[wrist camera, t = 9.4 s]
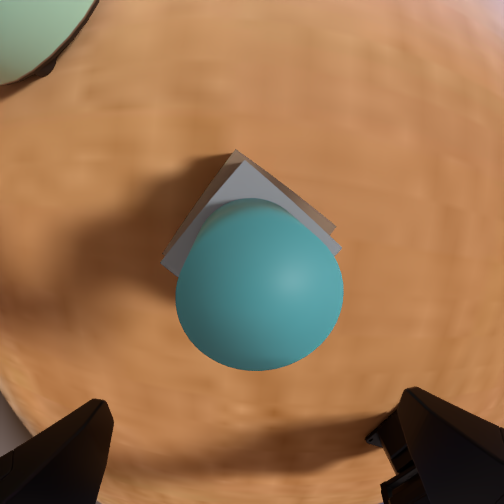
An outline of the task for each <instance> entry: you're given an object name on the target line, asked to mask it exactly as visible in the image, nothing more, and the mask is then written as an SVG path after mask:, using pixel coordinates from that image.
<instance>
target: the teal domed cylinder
mask: <svg viewBox="0 0 504 504" xmlns="http://www.w3.org/2000/svg"><path fill="white" fill-rule="evenodd" d="M342 303H343V280H342V275H341V272H340V269H339V266H338V263H337V261H336V260H335V258H334V256H333V254H332V253H331V251H330V250H329V249H328V247H327V246H326V245H325V244H324V243H323V242H322V241H321V240H320V239H319V238H318V237H317V236H316V235H314V234H313V233H312V232H311V231H310V230H309V229H308V228H307V227H305V226H304V225H303V224H302V223H301V222H300V221H299V220H297V219H296V218H295V217H294V216H293V215H292V214H290V213H289V212H288V211H287V210H285V209H284V208H283V207H281V206H279V205H278V204H276V203H273V202H271V201H268V200H264V199H258V198H244V199H238V200H235V201H232V202H229V203H227V204H225V205H223V206H221V207H220V208H218V209H217V210H216V211H214V212H213V213H212V214H211V215H210V216H209V217H208V218H207V219H206V221H205V222H204V224H203V225H202V227H201V229H200V231H199V233H198V235H197V237H196V239H195V241H194V244H193V246H192V248H191V250H190V252H189V254H188V256H187V259H186V261H185V263H184V265H183V267H182V269H181V272H180V275H179V278H178V281H177V287H176V309H177V314H178V317H179V321H180V323H181V326H182V328H183V330H184V332H185V333H186V335H187V336H188V338H189V339H190V341H191V342H192V343H193V344H194V345H195V346H196V347H197V348H198V349H199V350H200V351H201V352H202V353H204V354H205V355H206V356H208V357H209V358H211V359H213V360H215V361H216V362H218V363H221V364H223V365H226V366H228V367H232V368H236V369H241V370H248V371H263V370H271V369H277V368H280V367H284V366H287V365H290V364H292V363H294V362H297V361H298V360H300V359H302V358H304V357H306V356H307V355H308V354H310V353H311V352H313V351H314V350H315V349H316V348H317V347H318V346H320V345H321V343H322V342H323V341H324V340H325V339H326V338H327V337H328V335H329V334H330V332H331V331H332V329H333V327H334V326H335V324H336V322H337V320H338V317H339V314H340V311H341V307H342Z"/></svg>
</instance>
